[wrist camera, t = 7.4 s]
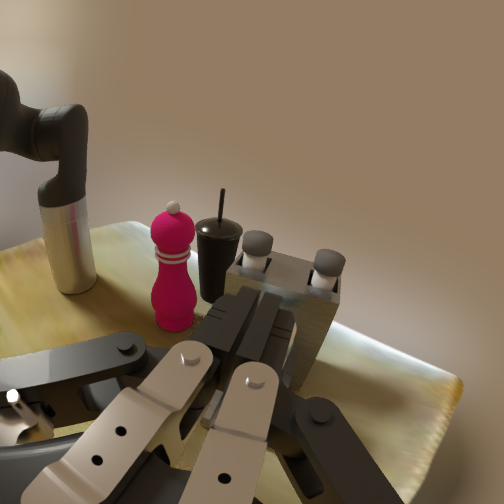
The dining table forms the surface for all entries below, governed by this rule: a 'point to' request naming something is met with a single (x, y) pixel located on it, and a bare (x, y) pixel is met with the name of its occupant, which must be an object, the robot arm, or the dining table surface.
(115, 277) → the dining table surface
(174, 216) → the pepper mill
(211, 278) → the drinking cup
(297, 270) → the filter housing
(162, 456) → the robot arm
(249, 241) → the plunger
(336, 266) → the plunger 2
